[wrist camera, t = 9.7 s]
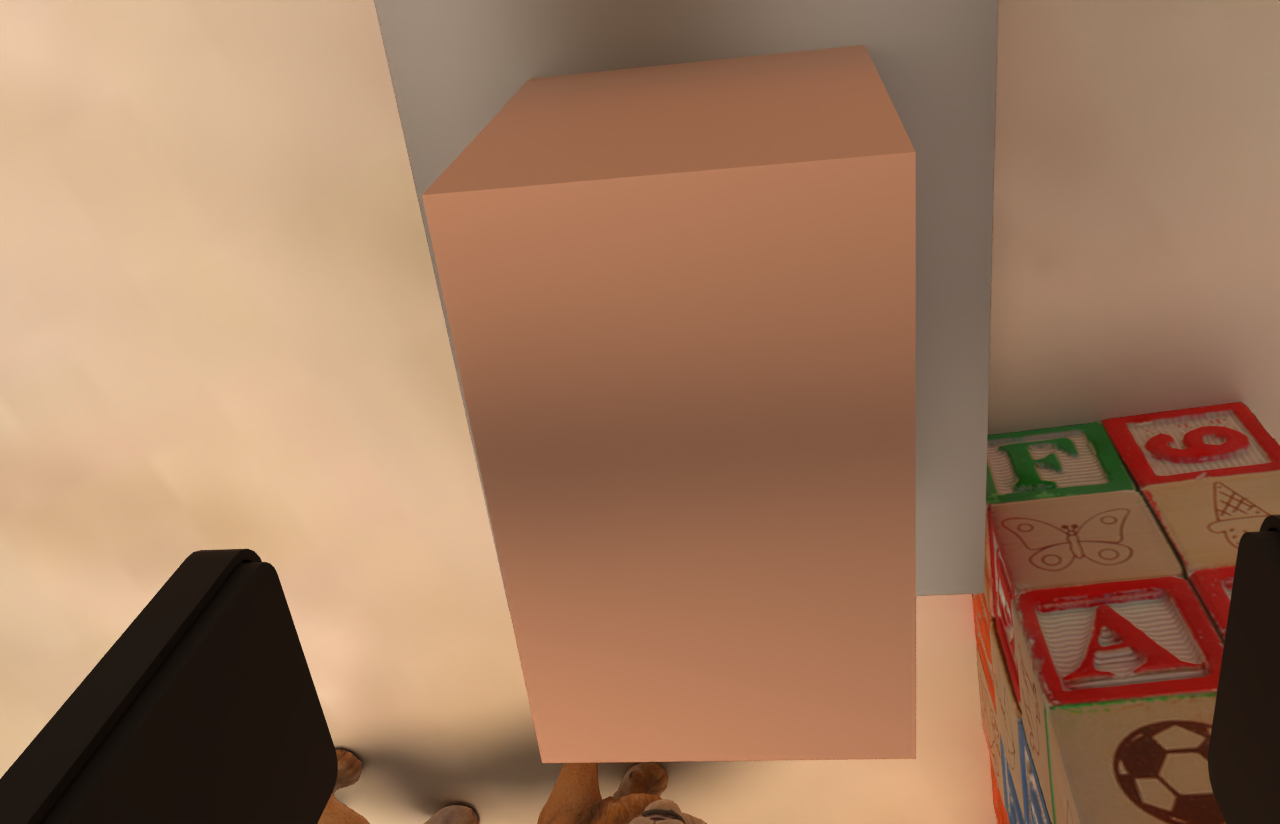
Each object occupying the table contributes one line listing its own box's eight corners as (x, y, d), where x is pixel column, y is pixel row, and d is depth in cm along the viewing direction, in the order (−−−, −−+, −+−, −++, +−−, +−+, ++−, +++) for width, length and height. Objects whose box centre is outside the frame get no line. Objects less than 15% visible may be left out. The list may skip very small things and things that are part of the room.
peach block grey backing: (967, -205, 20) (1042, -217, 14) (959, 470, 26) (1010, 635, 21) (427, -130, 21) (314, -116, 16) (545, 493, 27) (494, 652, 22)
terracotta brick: (865, 44, 16) (915, 152, 11) (874, 508, 20) (916, 758, 14) (529, 78, 17) (422, 195, 11) (598, 520, 20) (542, 763, 15)
